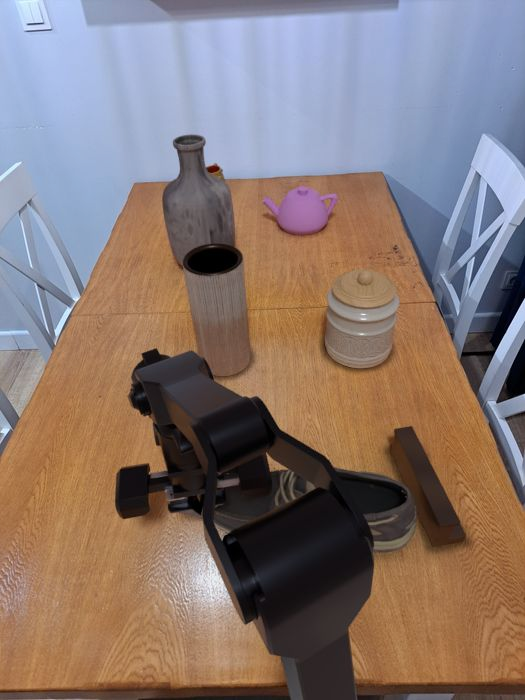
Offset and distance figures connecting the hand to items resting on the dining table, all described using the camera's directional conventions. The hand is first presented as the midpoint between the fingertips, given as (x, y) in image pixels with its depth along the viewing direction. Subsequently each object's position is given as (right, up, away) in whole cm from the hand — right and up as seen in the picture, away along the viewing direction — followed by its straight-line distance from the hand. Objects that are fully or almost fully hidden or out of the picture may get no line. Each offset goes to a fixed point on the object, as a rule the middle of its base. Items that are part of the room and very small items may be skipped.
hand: (201, 514), depth 66 cm
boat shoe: (+15, -1, +4) cm, 15 cm away
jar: (+27, +23, +30) cm, 46 cm away
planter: (+1, +20, +29) cm, 36 cm away
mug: (-7, +75, +91) cm, 118 cm away
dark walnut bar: (+32, +1, +6) cm, 32 cm away
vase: (-6, +44, +56) cm, 71 cm away
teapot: (+18, +57, +69) cm, 91 cm away
